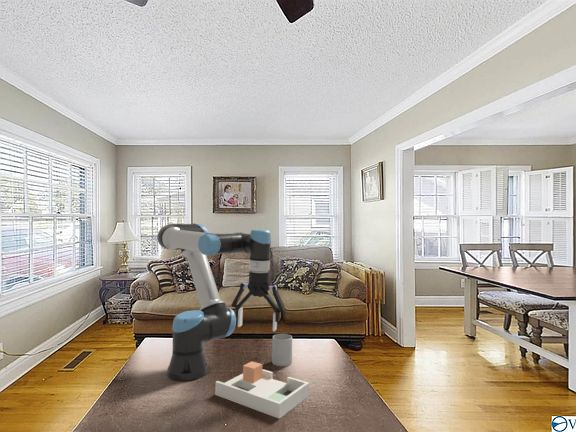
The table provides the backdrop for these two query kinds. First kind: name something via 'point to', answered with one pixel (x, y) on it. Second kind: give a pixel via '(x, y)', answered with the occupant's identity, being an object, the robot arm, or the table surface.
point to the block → (252, 371)
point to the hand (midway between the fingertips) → (257, 328)
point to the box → (264, 393)
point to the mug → (282, 350)
